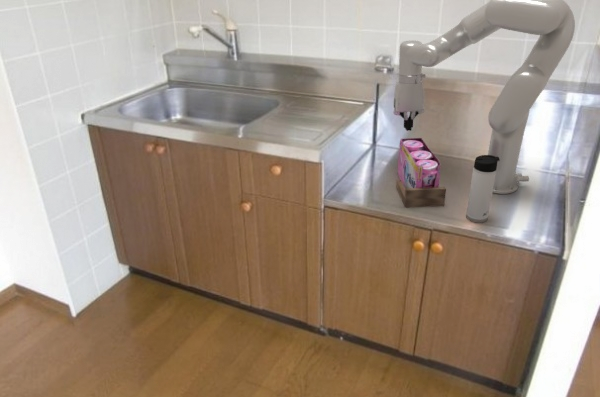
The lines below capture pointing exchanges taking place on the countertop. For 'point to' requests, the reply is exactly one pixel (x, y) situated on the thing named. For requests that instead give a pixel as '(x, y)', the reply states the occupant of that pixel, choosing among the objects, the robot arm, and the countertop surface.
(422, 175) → the gum box
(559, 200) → the countertop surface
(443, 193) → the brown wooden open box
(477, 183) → the travel mug
